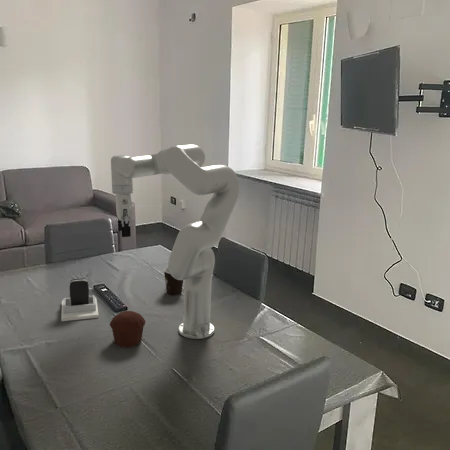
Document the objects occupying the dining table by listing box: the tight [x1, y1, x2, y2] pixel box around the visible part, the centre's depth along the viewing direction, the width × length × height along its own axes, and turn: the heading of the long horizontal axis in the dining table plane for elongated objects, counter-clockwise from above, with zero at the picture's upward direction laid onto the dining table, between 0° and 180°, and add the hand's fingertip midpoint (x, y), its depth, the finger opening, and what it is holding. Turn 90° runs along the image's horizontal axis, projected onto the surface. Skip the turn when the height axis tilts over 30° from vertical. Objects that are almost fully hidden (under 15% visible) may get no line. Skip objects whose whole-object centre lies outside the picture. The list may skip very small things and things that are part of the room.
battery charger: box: [68, 277, 90, 306], centre depth 174 cm, size 7×4×11 cm, turn 110°
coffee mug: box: [163, 267, 184, 296], centre depth 195 cm, size 12×9×10 cm
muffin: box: [109, 310, 147, 348], centre depth 153 cm, size 12×11×10 cm
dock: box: [60, 294, 100, 322], centre depth 180 cm, size 26×13×4 cm, turn 18°
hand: (124, 233), depth 175 cm, fingers open, 9 cm apart
